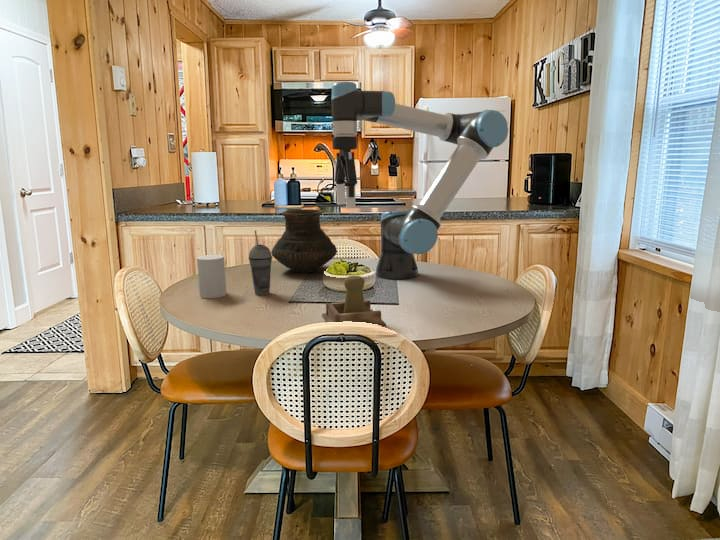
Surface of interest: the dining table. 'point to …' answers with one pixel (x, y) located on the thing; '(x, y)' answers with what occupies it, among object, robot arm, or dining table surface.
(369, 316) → the brown wooden tray
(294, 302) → the dining table surface
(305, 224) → the ceramic pot
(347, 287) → the olive tall piece
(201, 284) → the grey cylinder
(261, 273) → the beverage cup
